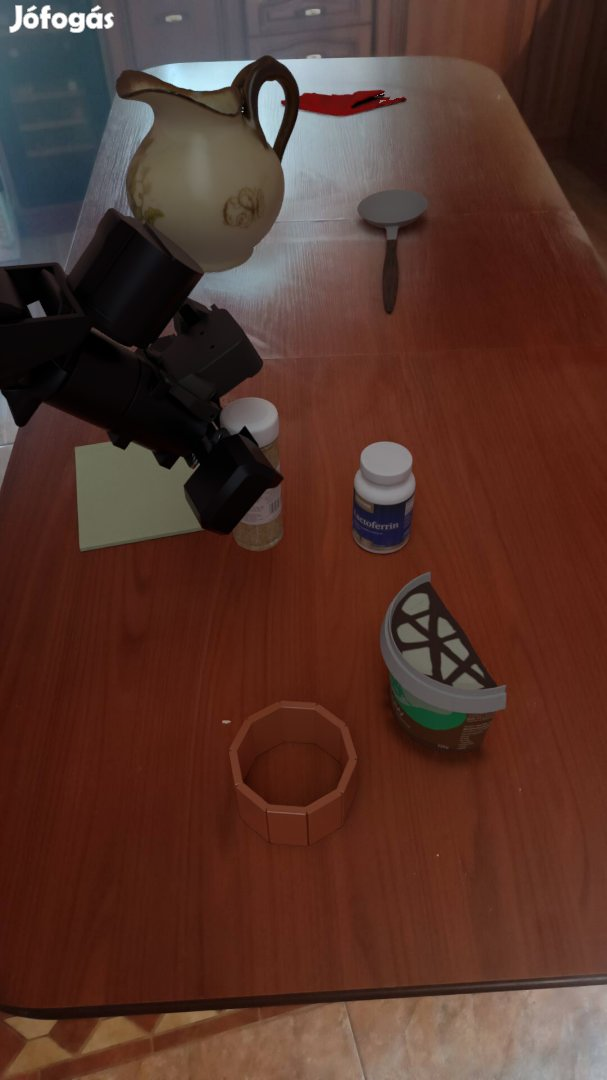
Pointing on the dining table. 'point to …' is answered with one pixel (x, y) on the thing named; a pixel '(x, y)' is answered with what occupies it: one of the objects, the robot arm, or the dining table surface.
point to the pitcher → (210, 163)
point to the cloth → (344, 102)
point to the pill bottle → (383, 498)
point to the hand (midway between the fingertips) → (268, 465)
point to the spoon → (392, 228)
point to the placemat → (129, 496)
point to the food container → (436, 673)
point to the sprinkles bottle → (263, 423)
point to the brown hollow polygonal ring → (302, 727)
